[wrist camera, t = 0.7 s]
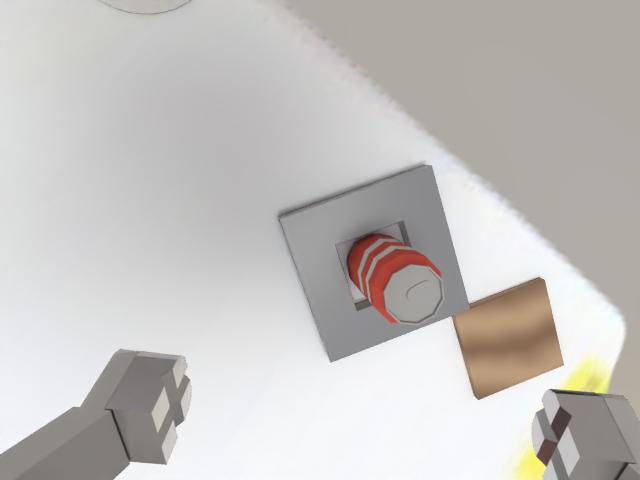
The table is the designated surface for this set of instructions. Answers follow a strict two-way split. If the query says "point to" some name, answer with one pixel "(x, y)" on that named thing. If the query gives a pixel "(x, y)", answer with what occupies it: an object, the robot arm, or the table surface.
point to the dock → (359, 219)
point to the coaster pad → (508, 338)
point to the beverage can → (396, 279)
